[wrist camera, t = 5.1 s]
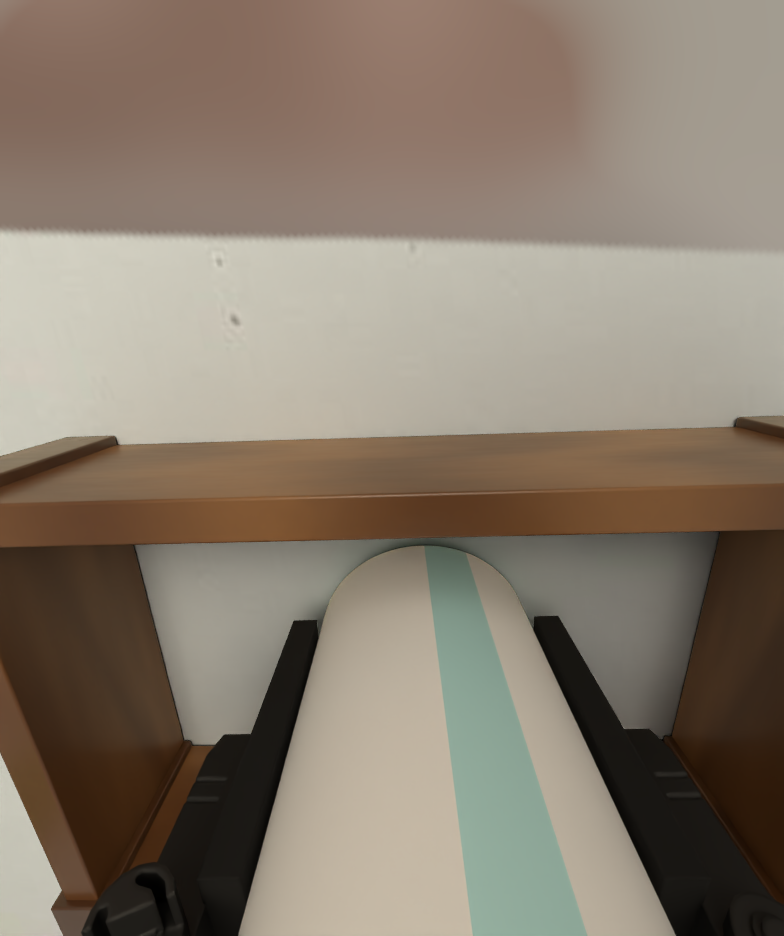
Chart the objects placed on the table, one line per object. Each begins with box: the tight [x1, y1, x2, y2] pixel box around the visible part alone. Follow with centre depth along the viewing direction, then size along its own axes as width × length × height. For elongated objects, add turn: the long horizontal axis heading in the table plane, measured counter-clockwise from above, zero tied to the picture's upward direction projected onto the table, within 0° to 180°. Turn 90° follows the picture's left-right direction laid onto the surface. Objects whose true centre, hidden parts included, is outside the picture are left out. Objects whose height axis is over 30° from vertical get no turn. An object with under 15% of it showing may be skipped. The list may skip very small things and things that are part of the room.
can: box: [238, 545, 676, 936], centre depth 9 cm, size 7×7×12 cm
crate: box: [0, 416, 784, 936], centre depth 12 cm, size 23×15×5 cm, turn 92°
